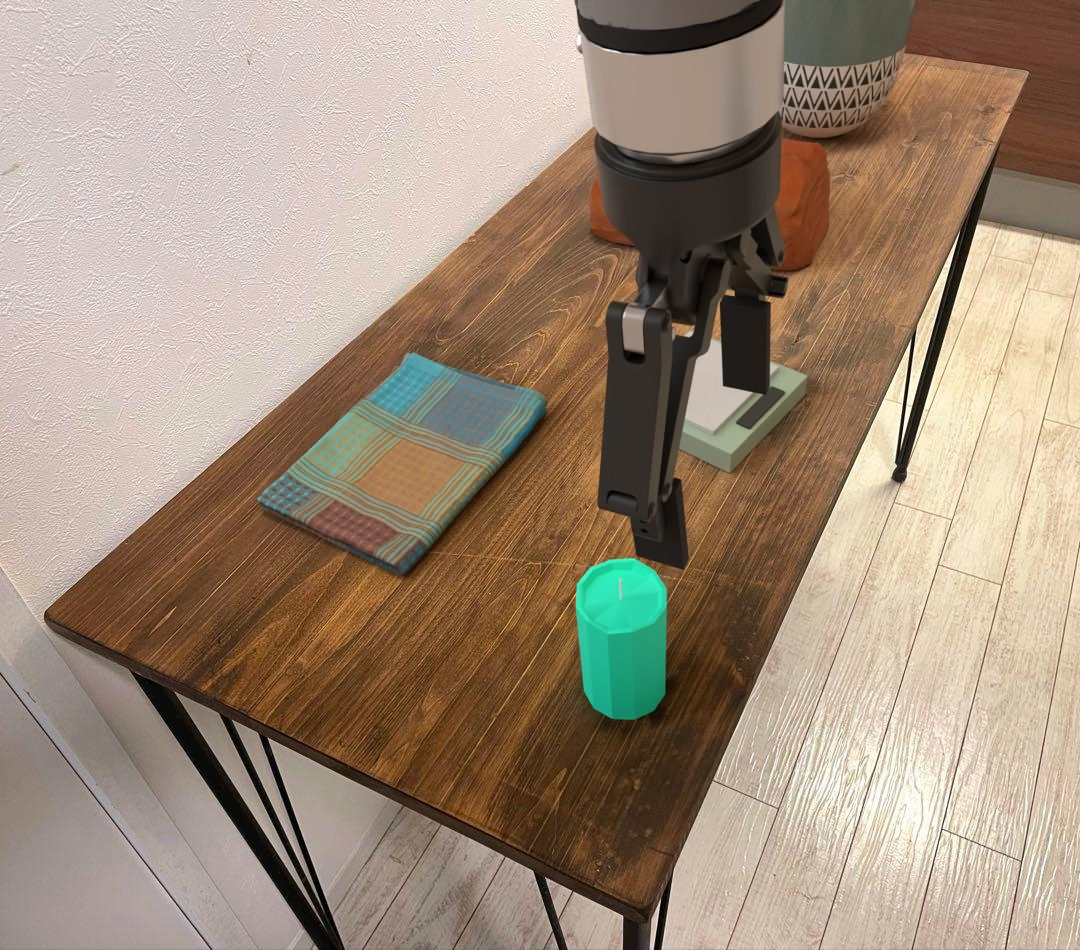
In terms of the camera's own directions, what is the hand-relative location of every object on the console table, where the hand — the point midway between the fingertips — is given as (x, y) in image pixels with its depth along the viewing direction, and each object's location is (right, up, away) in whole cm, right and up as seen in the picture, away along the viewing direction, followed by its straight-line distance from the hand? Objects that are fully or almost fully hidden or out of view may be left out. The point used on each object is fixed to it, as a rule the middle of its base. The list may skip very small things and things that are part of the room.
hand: (707, 466), depth 52 cm
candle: (-3, -16, +14) cm, 21 cm away
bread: (+10, +29, +57) cm, 65 cm away
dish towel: (-21, +1, +33) cm, 39 cm away
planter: (+29, +47, +73) cm, 91 cm away
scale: (+6, +6, +34) cm, 35 cm away
